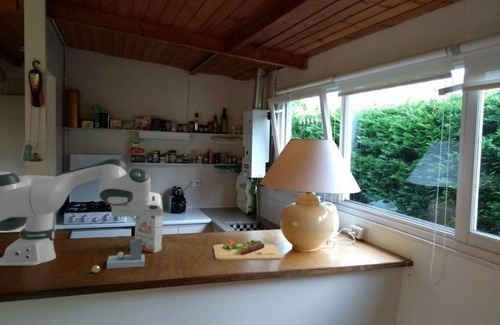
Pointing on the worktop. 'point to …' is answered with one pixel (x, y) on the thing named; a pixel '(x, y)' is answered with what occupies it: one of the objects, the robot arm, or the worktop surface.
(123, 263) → the deck
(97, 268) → the brass ball
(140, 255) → the block
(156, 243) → the cracker box
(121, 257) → the ball
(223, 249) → the cutting board
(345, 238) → the worktop surface
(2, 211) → the robot arm
